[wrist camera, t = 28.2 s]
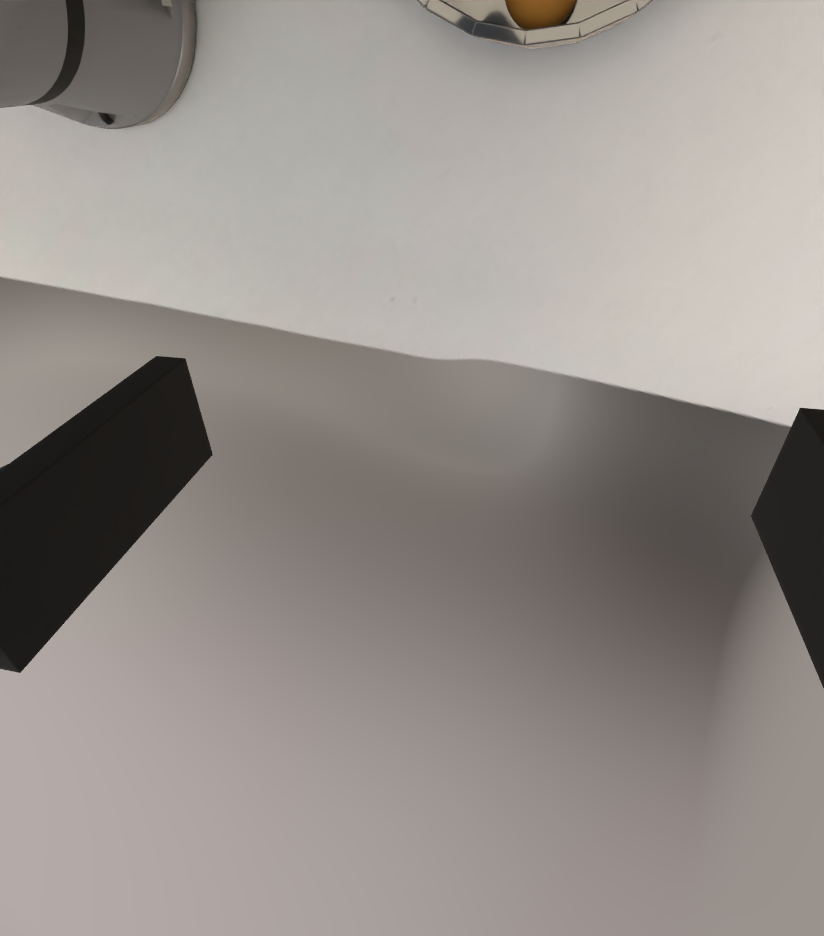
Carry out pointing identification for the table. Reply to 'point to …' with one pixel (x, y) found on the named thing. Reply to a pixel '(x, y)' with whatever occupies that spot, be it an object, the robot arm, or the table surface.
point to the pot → (486, 16)
